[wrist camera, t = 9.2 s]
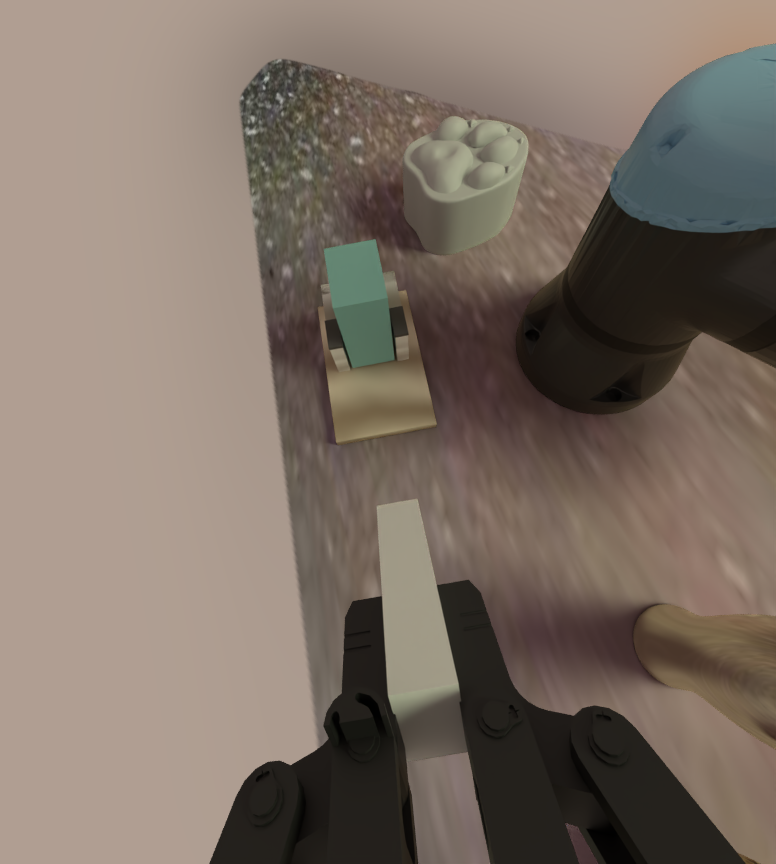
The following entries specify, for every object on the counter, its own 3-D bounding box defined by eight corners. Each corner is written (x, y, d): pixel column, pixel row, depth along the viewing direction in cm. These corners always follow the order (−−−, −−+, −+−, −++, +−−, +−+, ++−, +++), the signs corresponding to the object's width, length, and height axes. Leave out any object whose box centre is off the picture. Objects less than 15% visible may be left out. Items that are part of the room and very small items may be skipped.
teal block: (394, 360, 40) (387, 297, 30) (352, 368, 40) (332, 308, 30) (384, 311, 42) (375, 239, 32) (344, 319, 42) (323, 248, 32)
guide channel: (436, 426, 39) (439, 404, 33) (338, 445, 39) (324, 426, 33) (406, 296, 44) (404, 257, 38) (319, 312, 44) (305, 276, 38)
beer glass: (668, 712, 30) (894, 851, 16) (608, 626, 32) (760, 679, 18) (738, 663, 31) (1015, 754, 16) (674, 582, 33) (872, 600, 19)
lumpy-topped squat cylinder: (395, 205, 48) (391, 132, 40) (487, 166, 49) (502, 87, 41) (434, 264, 45) (438, 198, 37) (532, 221, 46) (557, 148, 38)
